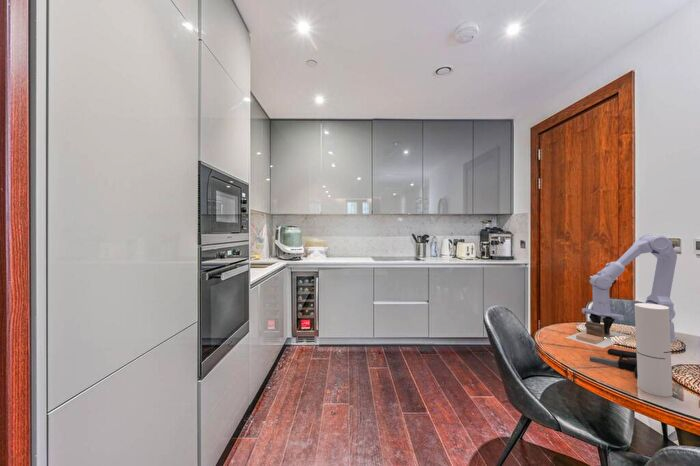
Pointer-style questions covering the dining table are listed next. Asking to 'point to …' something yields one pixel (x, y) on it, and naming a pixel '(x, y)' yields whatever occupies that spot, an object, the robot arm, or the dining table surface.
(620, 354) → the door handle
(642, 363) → the cylindrical container
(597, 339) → the tile
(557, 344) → the dining table surface
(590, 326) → the pusher
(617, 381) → the dining table surface
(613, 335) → the mat
